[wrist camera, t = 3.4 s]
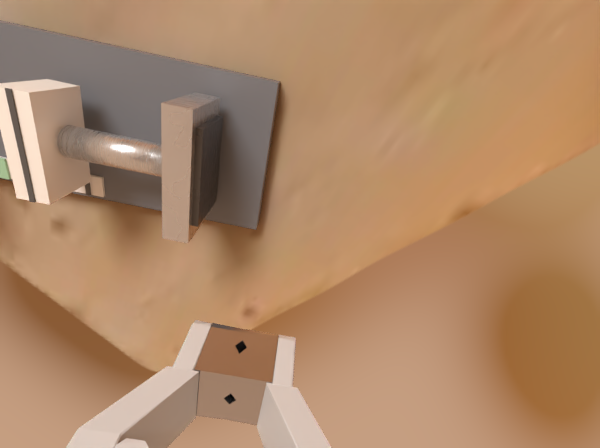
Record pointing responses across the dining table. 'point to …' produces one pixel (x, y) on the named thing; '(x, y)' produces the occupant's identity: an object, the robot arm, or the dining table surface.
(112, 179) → the frame
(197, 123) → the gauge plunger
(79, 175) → the gauge pointer
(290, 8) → the dining table surface
